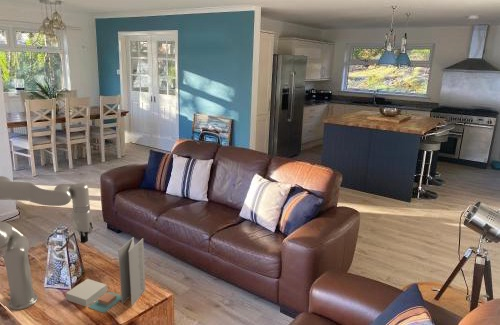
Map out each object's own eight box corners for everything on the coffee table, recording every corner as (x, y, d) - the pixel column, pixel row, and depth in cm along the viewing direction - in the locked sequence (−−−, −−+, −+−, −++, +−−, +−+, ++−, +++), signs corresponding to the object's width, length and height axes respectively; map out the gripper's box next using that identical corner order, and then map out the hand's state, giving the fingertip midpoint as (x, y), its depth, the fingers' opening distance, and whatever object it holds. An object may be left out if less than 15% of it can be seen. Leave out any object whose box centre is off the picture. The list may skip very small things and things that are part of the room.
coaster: (107, 302, 184) (108, 305, 184) (116, 295, 189) (116, 298, 190) (98, 299, 186) (98, 302, 186) (106, 292, 191) (107, 295, 192)
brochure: (132, 306, 185) (128, 251, 177) (121, 304, 186) (118, 250, 178) (145, 289, 198) (143, 238, 190) (135, 288, 199) (133, 236, 191)
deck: (66, 300, 188) (65, 293, 187) (88, 285, 200) (87, 278, 199) (86, 307, 183) (85, 299, 182) (107, 291, 196) (106, 284, 195)
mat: (88, 307, 183) (88, 307, 183) (108, 291, 195) (108, 291, 195) (104, 313, 179) (104, 312, 179) (124, 297, 192) (124, 296, 192)
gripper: (63, 208, 185) (67, 242, 190) (87, 213, 180) (90, 248, 184) (76, 203, 192) (79, 235, 197) (98, 208, 186) (101, 241, 191)
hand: (84, 241), depth 190 cm, fingers closed
